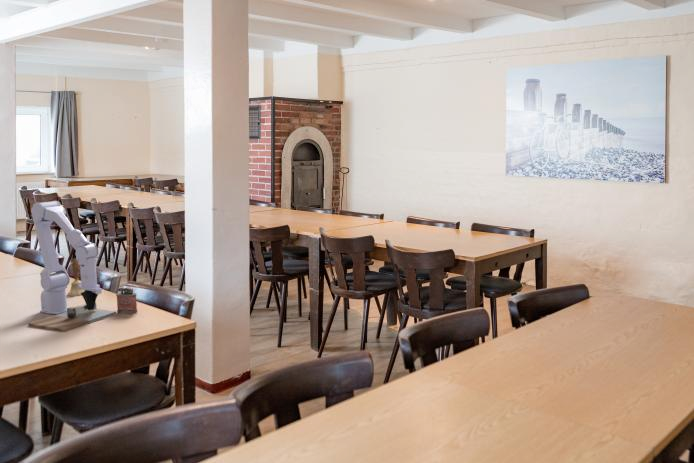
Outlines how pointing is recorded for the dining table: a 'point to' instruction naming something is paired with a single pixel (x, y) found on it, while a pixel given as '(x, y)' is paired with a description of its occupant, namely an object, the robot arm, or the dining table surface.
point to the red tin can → (126, 301)
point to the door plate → (91, 315)
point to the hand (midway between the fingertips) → (90, 309)
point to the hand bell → (74, 285)
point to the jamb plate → (58, 323)
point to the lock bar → (78, 310)
